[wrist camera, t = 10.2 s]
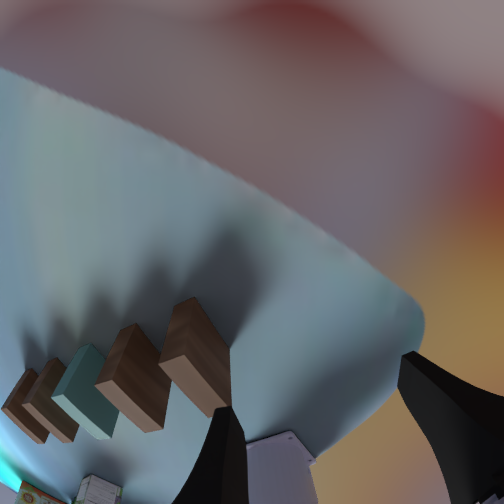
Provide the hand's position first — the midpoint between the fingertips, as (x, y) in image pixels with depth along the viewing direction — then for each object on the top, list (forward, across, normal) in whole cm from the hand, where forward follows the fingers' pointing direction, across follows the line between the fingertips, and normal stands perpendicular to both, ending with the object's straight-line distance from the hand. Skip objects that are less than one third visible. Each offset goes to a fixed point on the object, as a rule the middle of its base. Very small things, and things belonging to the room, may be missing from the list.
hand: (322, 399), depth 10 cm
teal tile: (+10, +16, +4) cm, 19 cm away
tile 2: (+10, +11, +2) cm, 15 cm away
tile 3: (+10, +21, +5) cm, 23 cm away
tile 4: (+10, +26, +6) cm, 28 cm away
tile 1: (+10, +6, +1) cm, 11 cm away
